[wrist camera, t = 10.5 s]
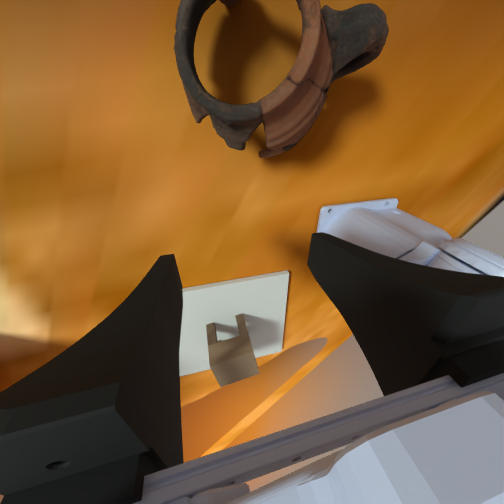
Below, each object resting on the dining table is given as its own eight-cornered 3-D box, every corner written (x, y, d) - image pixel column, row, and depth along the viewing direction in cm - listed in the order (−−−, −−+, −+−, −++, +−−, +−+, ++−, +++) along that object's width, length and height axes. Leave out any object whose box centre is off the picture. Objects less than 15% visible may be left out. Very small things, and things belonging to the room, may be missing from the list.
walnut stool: (242, 313, 28) (253, 351, 23) (249, 335, 31) (259, 373, 26) (205, 324, 27) (209, 366, 23) (215, 346, 30) (220, 386, 26)
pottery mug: (236, 181, 20) (200, 169, 12) (195, 72, 18) (124, -22, 11) (374, 121, 17) (446, 54, 9) (339, -14, 16) (389, -232, 8)
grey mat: (287, 270, 27) (289, 273, 26) (280, 348, 35) (281, 351, 35) (148, 294, 24) (148, 298, 23) (178, 373, 32) (178, 377, 32)
